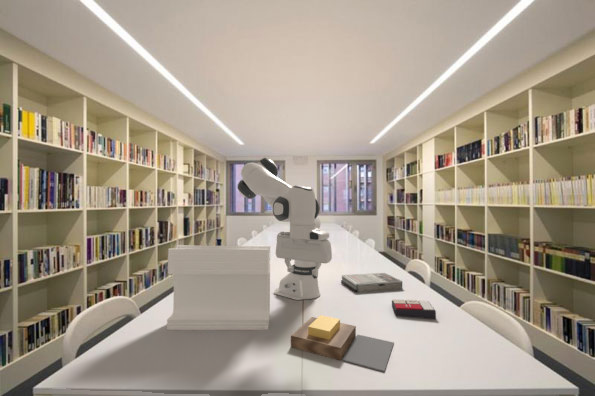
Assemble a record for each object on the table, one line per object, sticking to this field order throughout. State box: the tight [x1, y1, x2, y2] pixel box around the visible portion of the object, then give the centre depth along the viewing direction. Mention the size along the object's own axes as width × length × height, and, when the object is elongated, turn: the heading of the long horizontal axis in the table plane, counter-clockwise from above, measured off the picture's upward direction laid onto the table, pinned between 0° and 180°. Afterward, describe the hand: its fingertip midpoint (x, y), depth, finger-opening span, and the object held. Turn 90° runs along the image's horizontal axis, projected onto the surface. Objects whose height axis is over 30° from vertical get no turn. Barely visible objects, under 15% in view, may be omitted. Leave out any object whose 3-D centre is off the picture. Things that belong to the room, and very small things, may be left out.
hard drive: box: [340, 272, 403, 293], centre depth 152 cm, size 18×27×4 cm
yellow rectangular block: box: [308, 314, 341, 340], centre depth 91 cm, size 7×10×2 cm
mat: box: [341, 334, 394, 373], centre depth 85 cm, size 12×17×1 cm
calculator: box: [391, 298, 437, 320], centre depth 116 cm, size 11×4×15 cm
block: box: [166, 244, 271, 331], centre depth 102 cm, size 35×8×28 cm, turn 91°
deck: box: [290, 316, 357, 361], centre depth 91 cm, size 16×16×4 cm
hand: (302, 273), depth 96 cm, fingers open, 8 cm apart
